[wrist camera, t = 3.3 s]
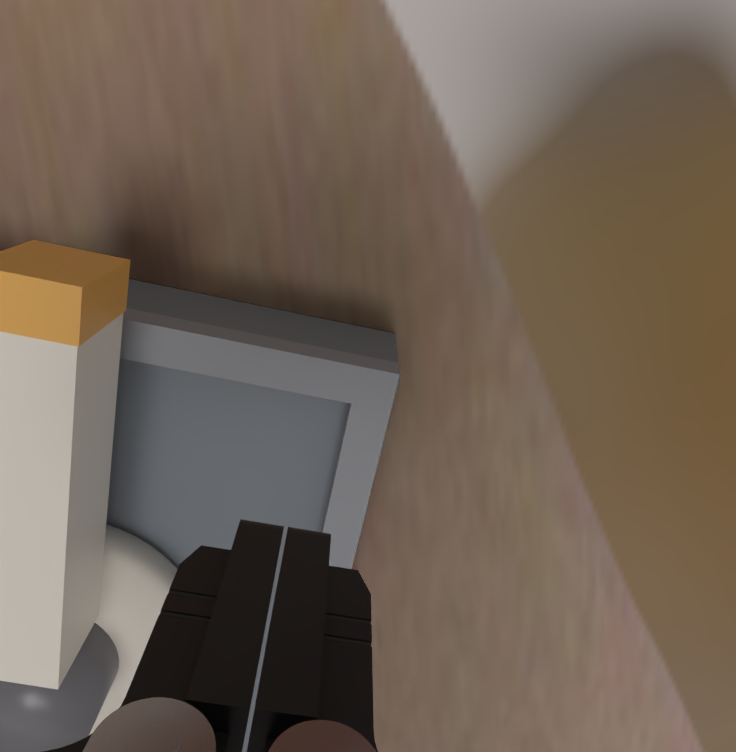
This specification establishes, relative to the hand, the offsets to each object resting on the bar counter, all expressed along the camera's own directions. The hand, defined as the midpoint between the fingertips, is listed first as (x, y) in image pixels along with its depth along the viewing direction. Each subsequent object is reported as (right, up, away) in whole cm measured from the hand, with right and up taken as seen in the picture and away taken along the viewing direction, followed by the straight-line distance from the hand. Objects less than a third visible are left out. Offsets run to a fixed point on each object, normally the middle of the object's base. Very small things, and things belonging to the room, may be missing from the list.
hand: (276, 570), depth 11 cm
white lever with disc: (-8, -1, +11) cm, 13 cm away
